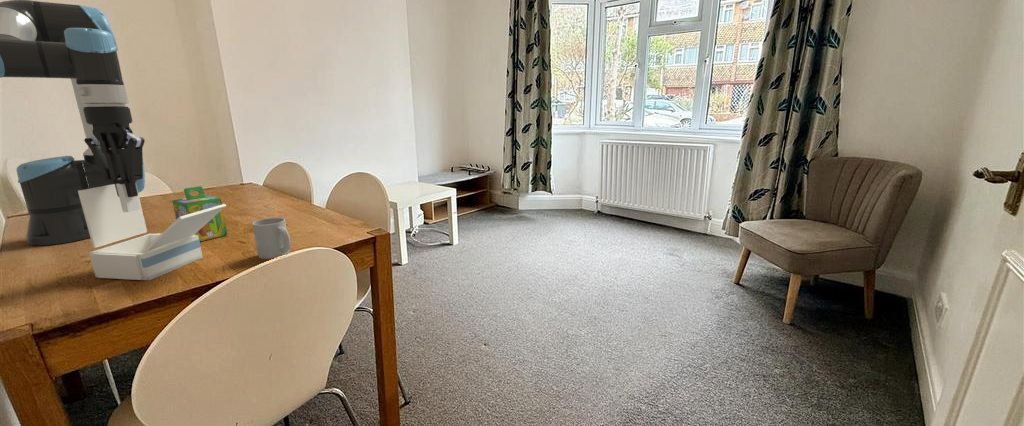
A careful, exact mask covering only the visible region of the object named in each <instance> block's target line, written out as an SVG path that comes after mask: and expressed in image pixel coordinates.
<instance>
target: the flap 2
mask: <svg viewBox="0 0 1024 426" xmlns="http://www.w3.org/2000/svg"><path fill="white" fill-rule="evenodd" d="M226 207H227V205H226V204H225V203H222V205H219V206H215V207H212V208H208V209H205V210H201V211H198V212H194V213H191V214H187V215H184V216H181V217H179V218H178V219H177V220H176V219H175V220H174V222H172V224H171V223H170V225H169V226H168V227H166V229H165V230H164V231H163V232H161V233H162V234H161V235H160V236H158V237H157V238H156V239H155V240H154V241H153V242H152V243H151V244H150V245H149V246H148V247H147V248H146V249H145V250H146V251H149V250H152V249H155V248H158V247H161V246H163V245H166V244H169V243H172V242H175V241H178V240H181V239H184V238H186V237H189V236H192V235H194V234H195V233H197V232H198V231H199V230H200V229H201V228H202V227H203V226H204V225H206V224H207V223H208V222H209V221H210V220H211V219H212V218H213V217H214V216H216V215H217V214H218V213H219V212H220V211H221V210H222V209H223V210H224V209H225V208H226Z"/></svg>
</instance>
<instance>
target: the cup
mask: <svg viewBox="0 0 1024 426" xmlns="http://www.w3.org/2000/svg"><path fill="white" fill-rule="evenodd" d="M252 228H253V229H252V230H253V236H254V241H255V247H256V248H255V249H256V252H257V253H256V254H257V257H259V258H260V259H261V260H273V259H272V258H275V257H278V256H282V255H285V254H287V255H289V253H290V252H291V251H290V250H291V245H292V244H291V236H290V233H289V232H288V230H287V229H288V228H287V224H286V219H285V218H284V217H268V218H267V217H266V218H262V219H258V220H255V221H253V222H252Z"/></svg>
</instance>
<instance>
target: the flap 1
mask: <svg viewBox="0 0 1024 426" xmlns="http://www.w3.org/2000/svg"><path fill="white" fill-rule="evenodd" d="M136 188H137V186H136ZM137 192H138V190H137ZM78 194H79V197H80V201H81V205H82V208H83V212H84V216H85V219H86V223H87V227H88V230H89V234H90V237H89V238H90V240H91V245H92V247H93V249H94V248H95V249H96V248H99V247H103V246H106V245H111V244H113V243H116V242H120V241H122V240H126V239H129V238H130V239H131V238H132V237H135V236H138V235H140V236H141V235H143V234H146V233H148V229H147V225H146V220H145V217H144V212H143V207H142V203H141V200H140V195H139V194H138V196H137V198H138V202H139V207H140V209H139V210H135V211H131V212H123V210H122V206H121V202H120V198H119V197H118V195H117V190H116V187H115V184H113V185H107V186H102V187H96V188H90V189H85V190H79V191H78Z"/></svg>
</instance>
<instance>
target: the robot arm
mask: <svg viewBox="0 0 1024 426" xmlns="http://www.w3.org/2000/svg"><path fill="white" fill-rule="evenodd" d="M118 50H119V49H118V45H117V42H116V38H115V34H114V32H113V30H112V27H111V25H110V23H109V20H108V19H107V17H106V15H105V13H104V12H103V11H102V10H100V8H96V7H93V6H92V7H91V6H85V5H80V4H70V3H61V2H60V3H58V2H49V1H39V0H4V1H3V0H2V1H0V78H29V79H30V78H34V79H37V78H39V79H40V78H41V79H42V78H43V79H70V81H71V84H72V85H71V86H72V90H73V93H74V96H75V100H76V104H77V109H78V113H79V116H80V119H81V123H82V128H83V131H84V136H85V138H84V139H83V141H84V143H85V144H86V145H87V147H88V148H86V149H85V151H83V153H82V156H83V159H80V160H79V159H78V160H77V159H76V160H75V158H74V157H73V156H72V155H62V156H56V157H55V156H54V157H48V158H43V159H37V160H31V161H27V162H24V163H21V164H19V165H18V166H17V167H16V175H17V179H18V180H17V183H18V184H19V185H20V188H21V192H22V195H23V199H24V203H25V206H26V208H27V211H28V214H29V215H28V216H29V217H28V218H29V219H28V224H27V225H28V226H27V231H26V240H27V244H28V245H29V246H52V245H58V244H65V243H71V242H77V241H81V240H82V241H83V240H85V239H89V238H90V234H89V230H88V227H87V223H86V219H85V216H84V212H83V208H82V205H81V201H80V197H79V194H78V191H79V190H85V189H90V188H96V187H102V186H107V185H113V184H115V187H116V190H117V195H118V197H119V198H120V202H121V206H122V210H123V212H131V211H135V210H139V209H140V207H139V202H138V198H137V196H138V195H139V193H142V192H143V191H144V189H145V188H146V187H145V185H146V184H145V183H146V173H145V172H146V171H145V163H144V159H143V158H144V157H143V156H144V153H143V148H144V146H145V145H144V144H145V138H144V137H138V136H137V135H135V134H134V131H133V129H132V128H131V126H130V124H132V123H133V117H132V113H131V109H130V107H129V106H126V104H129V99H128V95H127V91H126V86H125V83H124V81H123V80H124V79H123V75H122V71H121V66H120V61H119V56H118ZM136 186H137V188H136ZM137 190H138V192H137Z"/></svg>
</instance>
